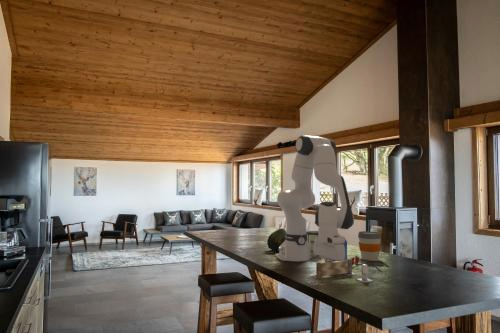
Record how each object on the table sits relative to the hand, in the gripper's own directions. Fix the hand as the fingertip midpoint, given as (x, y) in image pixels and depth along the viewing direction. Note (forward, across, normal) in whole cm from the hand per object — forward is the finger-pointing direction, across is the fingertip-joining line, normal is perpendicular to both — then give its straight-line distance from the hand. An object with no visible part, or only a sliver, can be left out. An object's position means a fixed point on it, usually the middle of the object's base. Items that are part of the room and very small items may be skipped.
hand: (328, 267), depth 174 cm
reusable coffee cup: (+4, -24, +45) cm, 51 cm away
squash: (+4, -66, +9) cm, 67 cm away
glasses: (+4, -8, +30) cm, 31 cm away
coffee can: (+4, -44, +21) cm, 49 cm away
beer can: (+4, -9, +12) cm, 16 cm away
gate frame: (+4, +7, +10) cm, 13 cm away
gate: (+3, +2, +2) cm, 4 cm away
